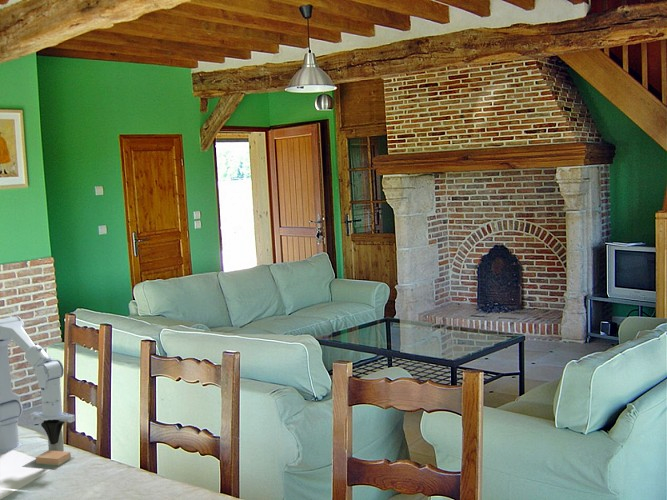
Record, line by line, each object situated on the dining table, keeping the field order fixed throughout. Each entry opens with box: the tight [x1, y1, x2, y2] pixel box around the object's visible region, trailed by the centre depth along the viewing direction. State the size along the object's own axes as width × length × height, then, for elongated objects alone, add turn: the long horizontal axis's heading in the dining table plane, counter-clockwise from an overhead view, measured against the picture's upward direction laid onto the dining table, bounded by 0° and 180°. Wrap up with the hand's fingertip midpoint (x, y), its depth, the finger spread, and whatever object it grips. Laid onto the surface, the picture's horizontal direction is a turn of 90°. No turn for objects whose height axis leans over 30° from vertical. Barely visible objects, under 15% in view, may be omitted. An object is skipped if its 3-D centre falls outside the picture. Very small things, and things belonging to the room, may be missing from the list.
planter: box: [47, 427, 65, 452], centre depth 239 cm, size 4×4×10 cm
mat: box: [21, 456, 76, 471], centre depth 230 cm, size 12×10×1 cm
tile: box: [35, 449, 72, 466], centre depth 230 cm, size 2×6×8 cm
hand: (54, 443), depth 229 cm, fingers closed
